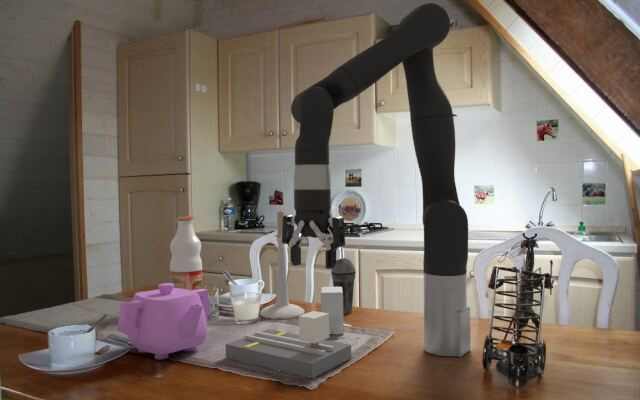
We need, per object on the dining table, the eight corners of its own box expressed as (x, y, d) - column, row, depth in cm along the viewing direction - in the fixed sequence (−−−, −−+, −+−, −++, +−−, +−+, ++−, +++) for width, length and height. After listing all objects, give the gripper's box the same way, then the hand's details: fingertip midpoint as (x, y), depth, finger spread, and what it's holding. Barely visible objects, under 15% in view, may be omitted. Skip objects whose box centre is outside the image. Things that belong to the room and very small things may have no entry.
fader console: (351, 358, 112) (351, 341, 112) (312, 379, 100) (312, 359, 100) (268, 341, 125) (268, 325, 125) (225, 358, 113) (225, 340, 113)
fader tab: (329, 347, 109) (328, 313, 109) (315, 353, 105) (314, 318, 105) (313, 343, 112) (313, 311, 111) (299, 350, 108) (298, 316, 107)
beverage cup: (360, 310, 155) (359, 242, 154) (351, 316, 148) (350, 245, 148) (337, 308, 158) (336, 241, 157) (327, 313, 151) (326, 244, 151)
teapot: (202, 362, 111) (201, 290, 111) (113, 365, 110) (112, 293, 109) (213, 336, 130) (212, 275, 130) (137, 339, 129) (136, 277, 128)
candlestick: (313, 311, 154) (311, 209, 153) (287, 321, 143) (285, 211, 142) (277, 306, 161) (276, 208, 160) (250, 316, 150) (248, 210, 149)
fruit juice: (172, 306, 163) (169, 216, 162) (203, 305, 165) (201, 215, 164) (169, 314, 154) (167, 218, 153) (202, 312, 156) (200, 217, 155)
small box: (343, 335, 130) (343, 292, 129) (321, 335, 130) (320, 292, 129) (343, 326, 138) (342, 286, 137) (321, 326, 138) (321, 286, 137)
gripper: (351, 187, 107) (352, 267, 107) (296, 187, 115) (296, 261, 115) (330, 187, 100) (331, 272, 101) (273, 187, 109) (274, 266, 109)
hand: (312, 266), depth 108 cm, fingers open, 8 cm apart
